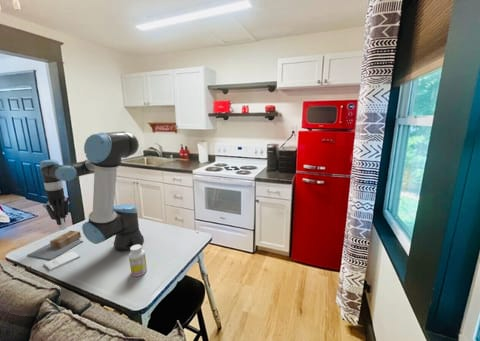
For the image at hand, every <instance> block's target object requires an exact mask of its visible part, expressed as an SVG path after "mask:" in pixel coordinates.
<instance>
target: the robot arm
mask: <svg viewBox="0 0 480 341" xmlns="http://www.w3.org/2000/svg"><path fill="white" fill-rule="evenodd" d="M139 147H140V145H139V140H138V138H137V137H136V136H135V135H134V134H132V133H131V132H128V131H113V132H99V133H94V134H90V136H88V137H87V138H86V139H85V142H84V146H83V151H84V154H85V157H86V159H85V160H83V161H78V162H73V163H67V164H60V163H59V161H58V160H57V159H45V160H41V161H40V162H39V169H40V172H41V177H42V181H43V186H44V190H45V196H46V198H47V200H46V201H47V202H46V204H43V205H42V207H43V208H45V209H46V212H47V214H48V215H49V218H50V219H51V220H54V221H55V222H56V225H57V226H58V228H59V230H61V231H64V230H67V228H66V218H67V216H68V214H69V204H70V203H69V202H70V197H67V196H65V190H64V188H63V187H64V184H63V181H64V182H69V181H72V180H74V179H75V178H80V177H82V176H87V175H91V174H93V175H94V176H93V196H92V197H93V199H92V200H93V201H92V211H91V212H90V213H89V214H88V221H85V222H84V223H83V224H82V227H81V230H82V233H83V235H84V237H85V238H86V239H87V241H88V242H90V243H92V244H95V245H99V244H100V243H103V242H105V241H107V240H108V239H111V238H113V237H114V236H115V237H114V241H113V248H114V250H115V251H116V252H120V253H123V252H124V253H125V252H131V251H130V248H131V247H132V246H133V245H137V244H139V245H141V246H143V244H144V243H145V240H144V238H145V237H144V235H142V232H141V230H140V226H139V217H138V210H137V207H136V205H135V204H131V203H121V204H116V205H115V200H116V182H117V172H118V170H117V169H118V168H119V167H120V166H121V165H122V159H124V158H125V159H127V158H128V157H131V156H132V155H134V154H136V153H137V151H138V150H139Z"/></svg>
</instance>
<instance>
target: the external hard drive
mask: <svg viewBox="0 0 480 341" xmlns="http://www.w3.org/2000/svg"><path fill="white" fill-rule="evenodd" d="M80 258H81V256H80V254H78V253H77V252H76V251H73V250H72V251H70V252H67V253H64V254H61V255H60V256H58V257H56V258H54V259H53V260H47V261H46V262H44V263H43V265H44V267H45V268H47V269H48V270H49V271H50V272H51V271H53V269H54V270H55V269H58V268H60V267H62V265H63V266H64V265H66V264H69V263H71V262H73V261H75V260H78V259H80Z"/></svg>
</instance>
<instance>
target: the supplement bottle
mask: <svg viewBox="0 0 480 341" xmlns="http://www.w3.org/2000/svg"><path fill="white" fill-rule="evenodd" d="M142 246H143V245H139V244H137V245H133V246H132V247H131V248H130V251H129V252H130V253H129V254H128V261H129V267H130V273H131V275H132V276H134V277H139V276H142V275H145V273H146V272H147V270H148V268H147V267H148V266H147V259H146V252H145V250H144V249H143V248H142Z"/></svg>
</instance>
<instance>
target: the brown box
mask: <svg viewBox="0 0 480 341" xmlns="http://www.w3.org/2000/svg"><path fill="white" fill-rule="evenodd" d="M81 237H82V235H81V231H77V230H69V231H67V232H64V233H63V234H61V235H59V236H57V237H56V238H53V239H52V240H49V244H51V247H55V248H63V247H65V246H67V245H68V244H70V243H72V242H73V241H75V240H79V239H80V238H81Z"/></svg>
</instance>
